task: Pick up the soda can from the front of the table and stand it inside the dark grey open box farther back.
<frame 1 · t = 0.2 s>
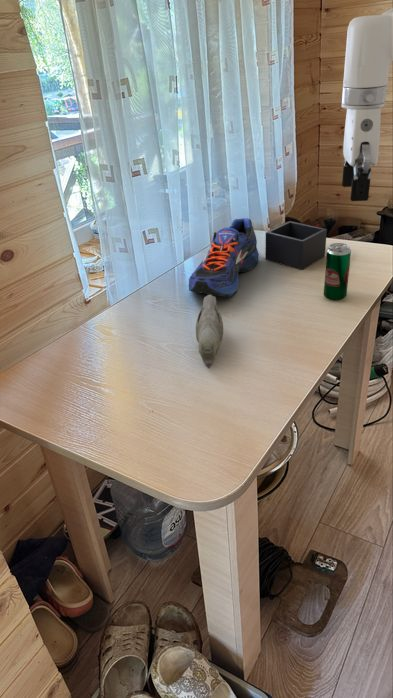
hand: (354, 193, 101), 24 cm above the table, tool pointing down, fingers open, 9 cm apart
running shoe: (223, 280, 128), on the table
dark grey open box: (295, 258, 136), on the table
soda can: (334, 297, 117), on the table
decorative bird: (210, 346, 103), on the table
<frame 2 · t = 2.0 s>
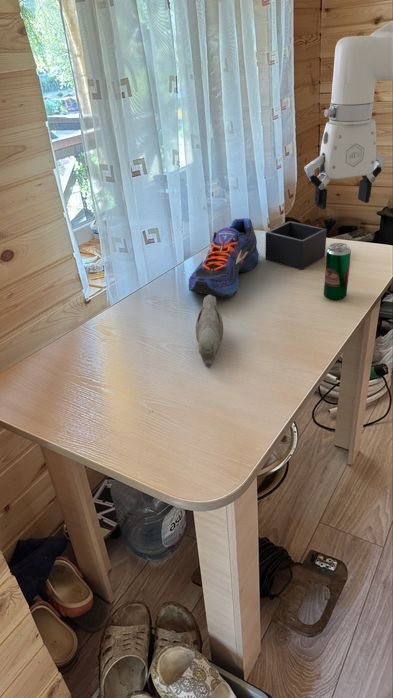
hand: (342, 204, 105), 21 cm above the table, tool pointing down, fingers open, 9 cm apart
nothing on the table moved.
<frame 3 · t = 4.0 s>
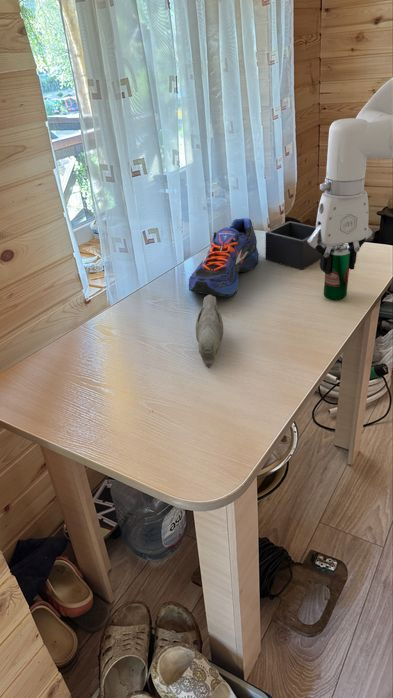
hand: (337, 268, 113), 7 cm above the table, tool pointing down, fingers closed on soda can, 5 cm apart
soda can: (334, 297, 117), on the table, touching gripper
everything else where it was.
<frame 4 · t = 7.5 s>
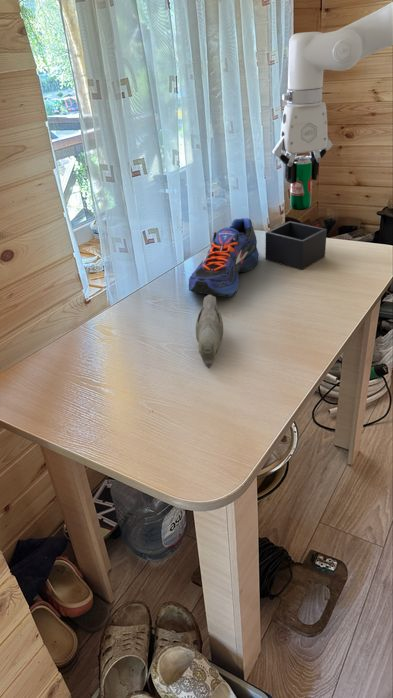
hand: (301, 179, 124), 21 cm above the table, tool pointing down, fingers closed on soda can, 5 cm apart
soda can: (300, 208, 127), point 14 cm above the table, touching gripper
everything else where it was.
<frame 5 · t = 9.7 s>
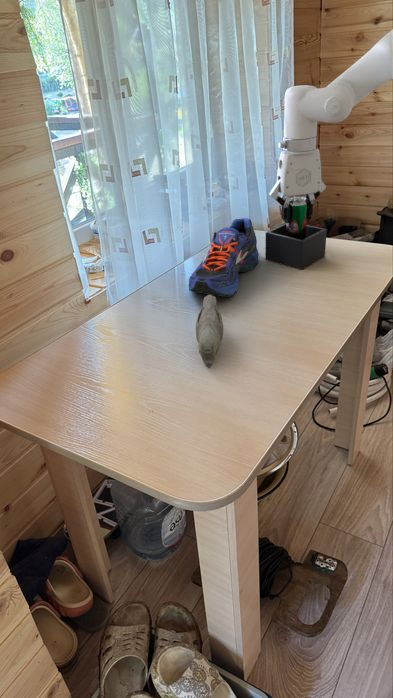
hand: (296, 219, 131), 11 cm above the table, tool pointing down, fingers closed on soda can, 5 cm apart
soda can: (295, 245, 134), point 4 cm above the table, touching gripper
everything else where it was.
when the fingers open (7 cm above the table, at t = 11.1 s): soda can stays where it is, resting on dark grey open box.
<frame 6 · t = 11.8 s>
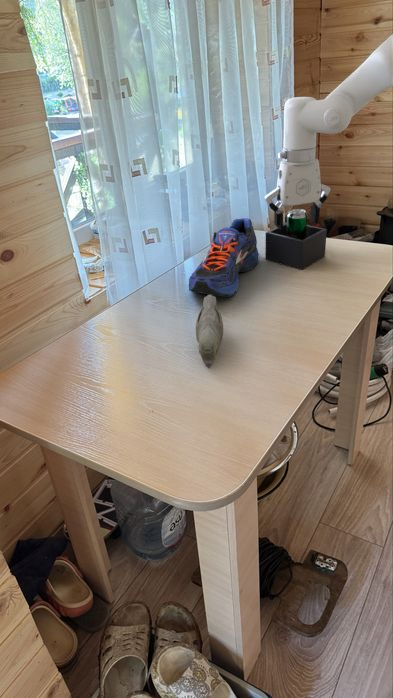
hand: (296, 224, 131), 9 cm above the table, tool pointing down, fingers open, 9 cm apart
soda can: (295, 256, 136), resting on dark grey open box
everything else where it was.
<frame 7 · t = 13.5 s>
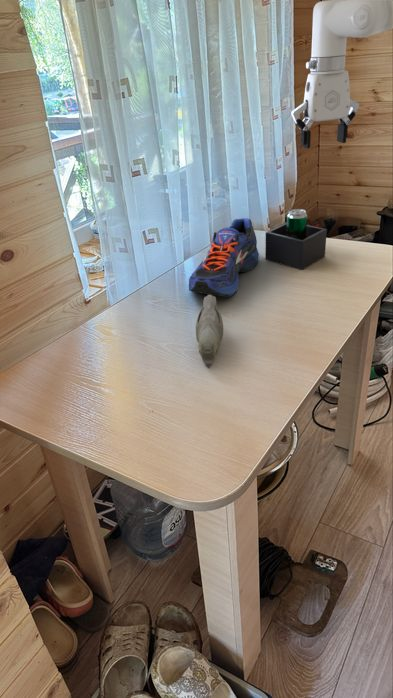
hand: (323, 144, 126), 27 cm above the table, tool pointing down, fingers open, 9 cm apart
nothing on the table moved.
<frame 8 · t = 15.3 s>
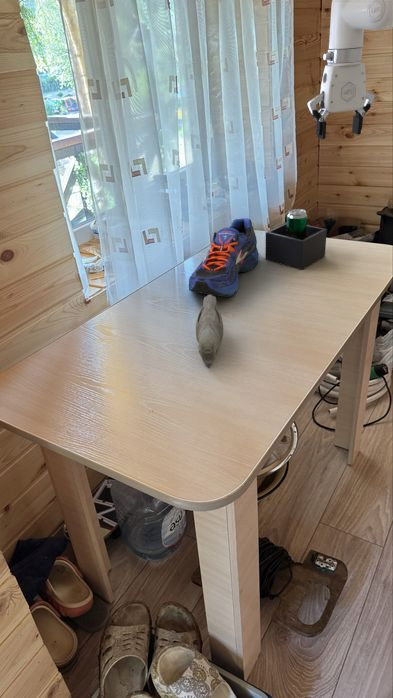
hand: (338, 135, 128), 28 cm above the table, tool pointing down, fingers open, 9 cm apart
nothing on the table moved.
at the end: soda can inside the target area in the dark grey open box (0.1 cm from its centre), point 0.4 cm above the dark grey open box's base; the gripper is holding nothing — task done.
